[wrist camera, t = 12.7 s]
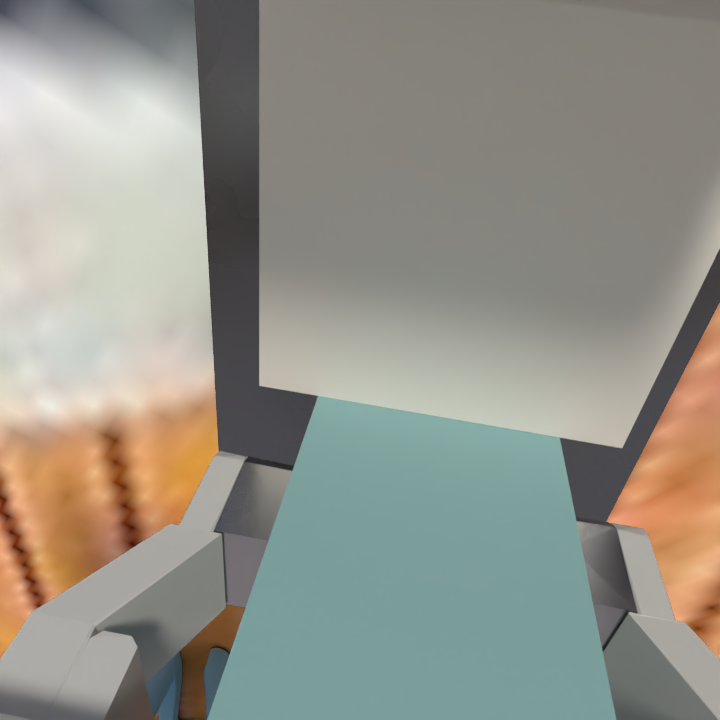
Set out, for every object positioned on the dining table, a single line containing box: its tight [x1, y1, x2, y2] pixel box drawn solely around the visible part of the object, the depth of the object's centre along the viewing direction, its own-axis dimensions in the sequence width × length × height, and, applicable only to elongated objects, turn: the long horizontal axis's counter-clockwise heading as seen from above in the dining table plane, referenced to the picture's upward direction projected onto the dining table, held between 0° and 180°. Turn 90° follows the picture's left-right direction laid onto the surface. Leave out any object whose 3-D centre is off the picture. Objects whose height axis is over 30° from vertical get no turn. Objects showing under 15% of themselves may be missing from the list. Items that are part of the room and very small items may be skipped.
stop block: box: [207, 396, 616, 720], centre depth 10 cm, size 4×4×12 cm
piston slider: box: [259, 0, 720, 448], centre depth 7 cm, size 8×7×8 cm
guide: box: [194, 0, 720, 522], centre depth 12 cm, size 21×10×3 cm, turn 174°
